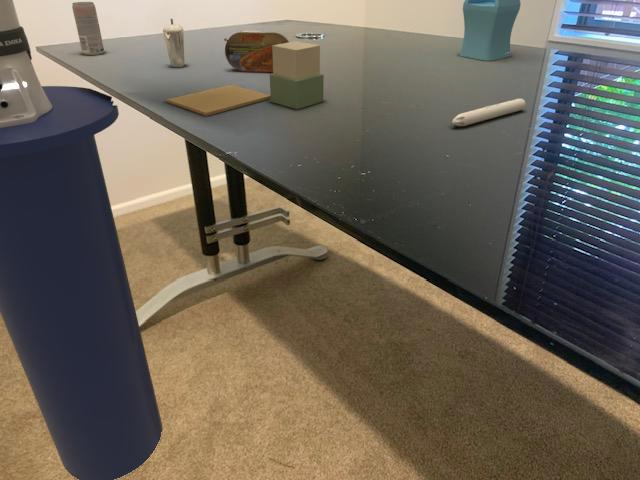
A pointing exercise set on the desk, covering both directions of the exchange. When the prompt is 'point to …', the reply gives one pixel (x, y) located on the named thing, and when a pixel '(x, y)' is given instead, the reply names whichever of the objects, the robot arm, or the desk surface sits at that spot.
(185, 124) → the desk surface
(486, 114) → the marker
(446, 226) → the desk surface
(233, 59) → the tin
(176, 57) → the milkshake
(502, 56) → the vase
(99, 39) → the energy drink
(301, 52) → the tower
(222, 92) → the mat
